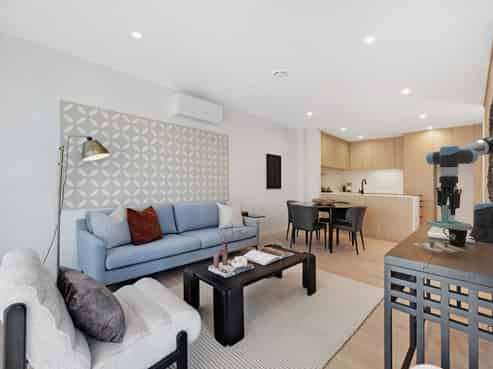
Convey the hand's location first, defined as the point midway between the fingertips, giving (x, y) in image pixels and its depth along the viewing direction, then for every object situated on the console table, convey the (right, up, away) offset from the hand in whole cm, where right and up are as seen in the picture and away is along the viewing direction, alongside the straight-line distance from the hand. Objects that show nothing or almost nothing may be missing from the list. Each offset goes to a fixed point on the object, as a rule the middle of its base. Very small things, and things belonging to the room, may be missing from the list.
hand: (447, 220), depth 125 cm
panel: (0, -3, 0) cm, 3 cm away
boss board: (+3, -17, +10) cm, 20 cm away
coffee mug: (+19, -17, +17) cm, 31 cm away
